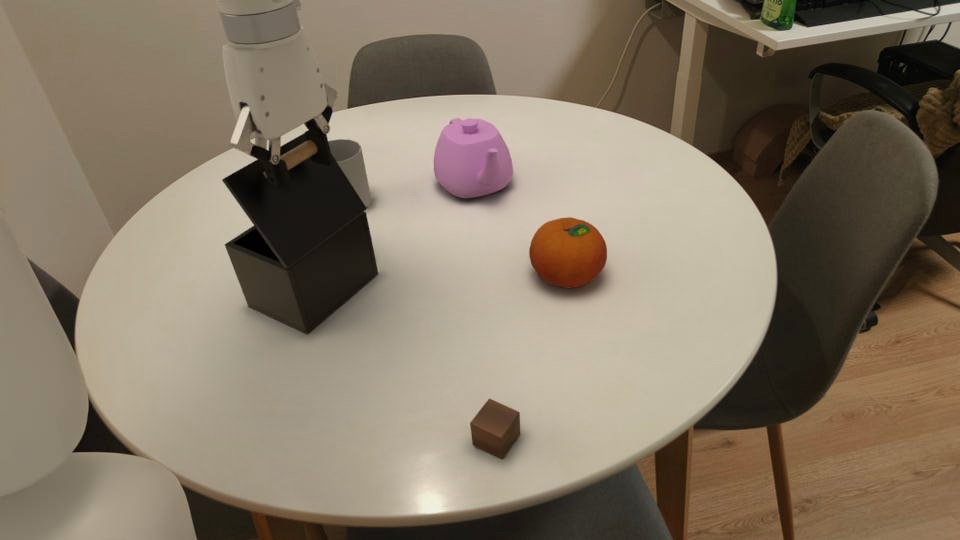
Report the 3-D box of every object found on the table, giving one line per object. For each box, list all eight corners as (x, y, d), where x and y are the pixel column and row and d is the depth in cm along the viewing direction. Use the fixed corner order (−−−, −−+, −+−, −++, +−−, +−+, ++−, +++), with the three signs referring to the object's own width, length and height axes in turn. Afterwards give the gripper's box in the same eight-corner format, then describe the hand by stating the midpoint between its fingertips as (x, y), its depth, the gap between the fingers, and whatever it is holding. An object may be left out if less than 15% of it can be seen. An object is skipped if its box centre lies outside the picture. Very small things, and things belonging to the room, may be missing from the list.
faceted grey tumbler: (355, 185, 113) (345, 134, 106) (380, 203, 107) (370, 150, 101) (313, 203, 109) (300, 151, 102) (337, 222, 103) (324, 168, 97)
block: (502, 460, 65) (501, 438, 63) (472, 445, 67) (469, 422, 65) (520, 434, 68) (519, 411, 65) (490, 420, 70) (489, 397, 67)
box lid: (221, 179, 72) (239, 167, 69) (311, 129, 82) (331, 116, 78) (284, 268, 76) (304, 260, 72) (363, 209, 85) (384, 200, 82)
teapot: (422, 170, 115) (414, 110, 108) (488, 153, 119) (484, 94, 112) (463, 224, 101) (456, 158, 93) (536, 202, 104) (536, 138, 97)
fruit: (516, 285, 88) (515, 238, 83) (549, 246, 95) (549, 201, 90) (587, 308, 83) (590, 260, 78) (616, 265, 90) (620, 218, 85)
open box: (248, 307, 88) (224, 244, 81) (321, 252, 97) (305, 191, 90) (307, 335, 82) (286, 270, 76) (378, 274, 92) (366, 212, 85)
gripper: (296, -3, 72) (329, 140, 83) (167, 45, 61) (225, 202, 72) (345, 3, 68) (372, 151, 80) (218, 55, 57) (271, 219, 68)
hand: (302, 174), depth 76 cm, fingers closed on box lid, 6 cm apart
